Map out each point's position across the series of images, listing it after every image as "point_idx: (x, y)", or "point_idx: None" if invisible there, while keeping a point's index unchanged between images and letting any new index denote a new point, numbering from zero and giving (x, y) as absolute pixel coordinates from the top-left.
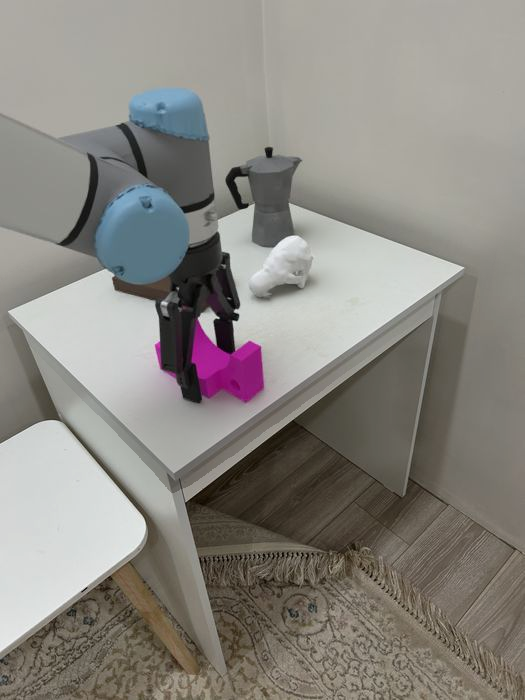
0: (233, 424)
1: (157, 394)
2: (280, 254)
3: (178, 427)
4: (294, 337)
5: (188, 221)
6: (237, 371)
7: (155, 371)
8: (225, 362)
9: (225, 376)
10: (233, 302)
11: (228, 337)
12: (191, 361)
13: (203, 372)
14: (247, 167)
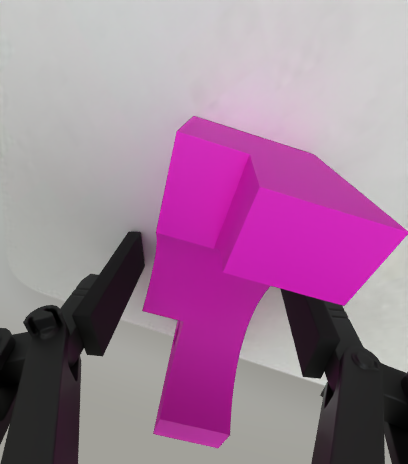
0: (129, 318)
1: (110, 169)
2: None
3: (70, 253)
4: (377, 339)
5: None
6: (165, 381)
7: (177, 108)
8: (217, 318)
9: (181, 324)
10: (390, 450)
11: (293, 325)
12: (187, 256)
13: (171, 287)
14: None
